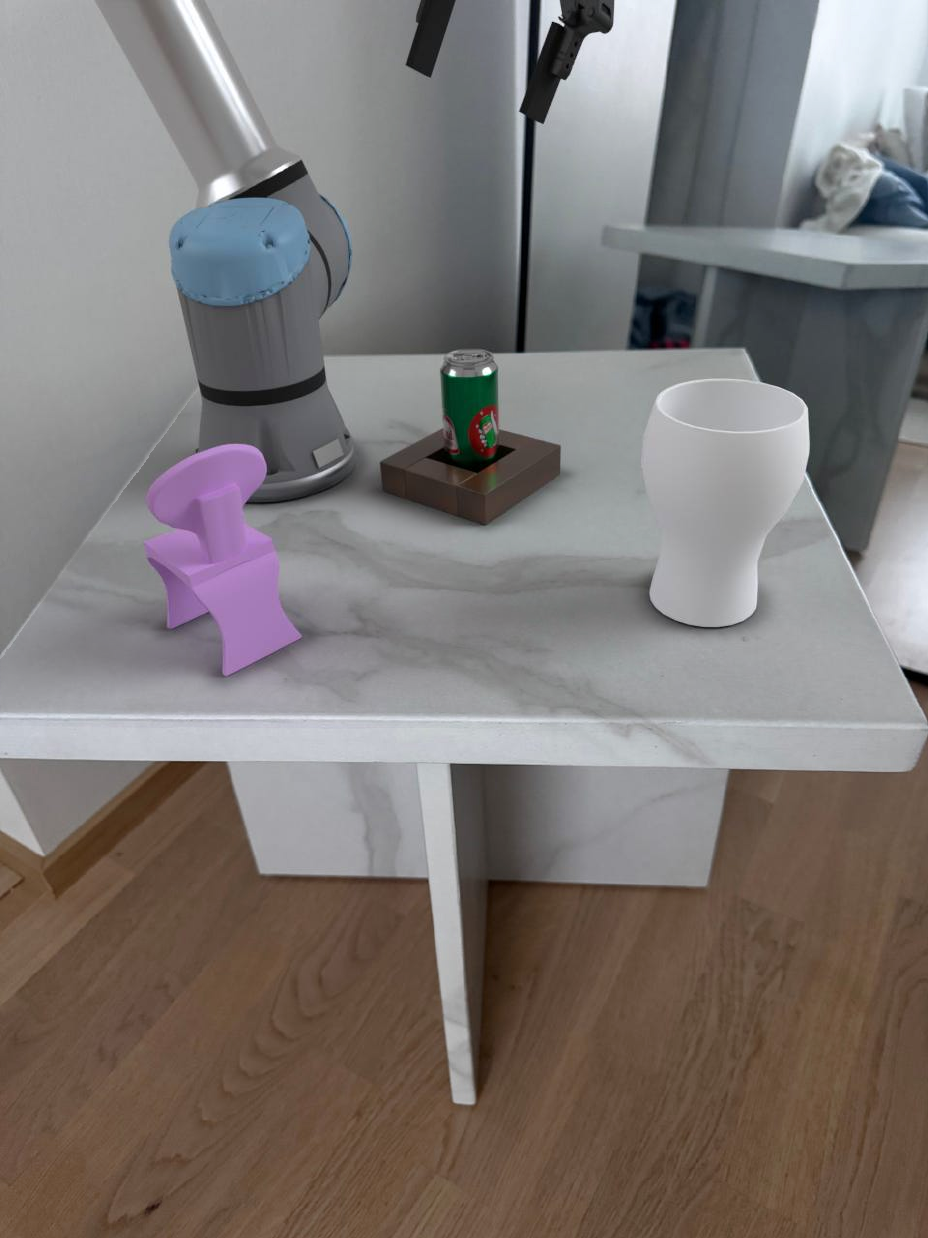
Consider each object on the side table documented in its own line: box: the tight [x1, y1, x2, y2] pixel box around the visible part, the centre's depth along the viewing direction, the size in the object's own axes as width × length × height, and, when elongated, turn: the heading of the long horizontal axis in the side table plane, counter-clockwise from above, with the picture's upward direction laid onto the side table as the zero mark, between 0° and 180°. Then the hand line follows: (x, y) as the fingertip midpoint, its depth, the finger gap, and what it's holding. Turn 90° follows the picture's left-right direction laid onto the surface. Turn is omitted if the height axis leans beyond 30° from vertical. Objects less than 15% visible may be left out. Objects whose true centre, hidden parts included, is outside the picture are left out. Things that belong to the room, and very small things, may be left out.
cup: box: [640, 378, 811, 628], centre depth 60 cm, size 11×11×15 cm
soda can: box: [439, 348, 500, 473], centre depth 78 cm, size 5×5×12 cm
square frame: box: [379, 427, 562, 526], centre depth 80 cm, size 12×12×3 cm
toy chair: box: [142, 444, 303, 677], centre depth 59 cm, size 8×9×15 cm
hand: (472, 94), depth 74 cm, fingers open, 13 cm apart
